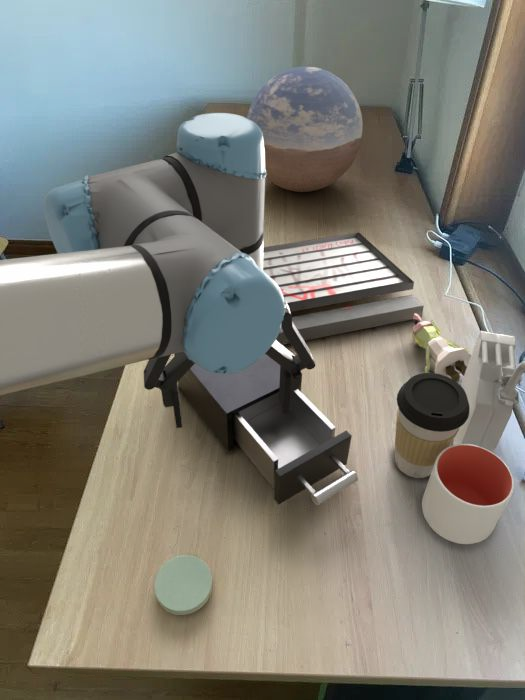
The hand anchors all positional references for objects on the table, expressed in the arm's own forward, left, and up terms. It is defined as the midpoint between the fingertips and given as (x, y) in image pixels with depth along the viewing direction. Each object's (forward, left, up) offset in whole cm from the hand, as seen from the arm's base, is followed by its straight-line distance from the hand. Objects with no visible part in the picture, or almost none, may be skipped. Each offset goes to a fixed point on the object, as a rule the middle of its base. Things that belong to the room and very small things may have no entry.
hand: (231, 413), depth 72 cm
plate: (-14, -9, -17) cm, 23 cm away
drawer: (+9, -1, -16) cm, 18 cm away
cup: (+24, -21, -17) cm, 36 cm away
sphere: (+67, +73, -17) cm, 100 cm away
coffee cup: (+25, -11, -17) cm, 33 cm away
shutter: (+42, +33, -17) cm, 55 cm away
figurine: (+45, +3, -17) cm, 49 cm away
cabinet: (+9, +15, -17) cm, 24 cm away
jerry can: (+35, -14, -17) cm, 41 cm away
